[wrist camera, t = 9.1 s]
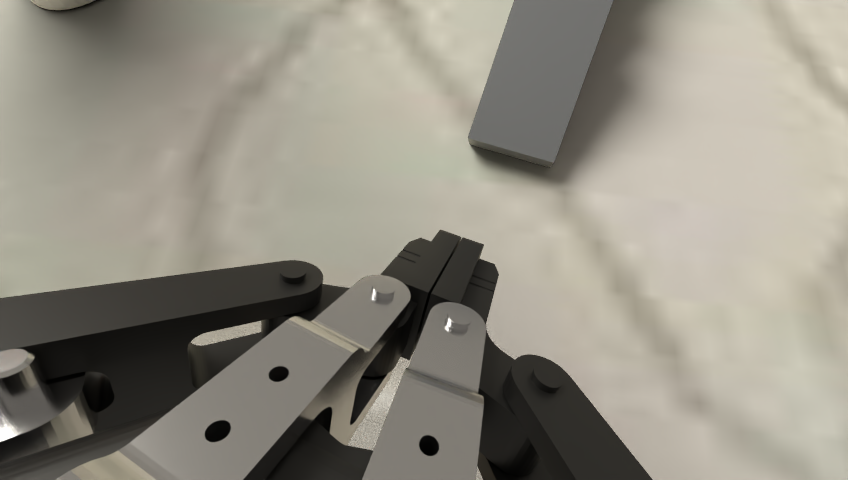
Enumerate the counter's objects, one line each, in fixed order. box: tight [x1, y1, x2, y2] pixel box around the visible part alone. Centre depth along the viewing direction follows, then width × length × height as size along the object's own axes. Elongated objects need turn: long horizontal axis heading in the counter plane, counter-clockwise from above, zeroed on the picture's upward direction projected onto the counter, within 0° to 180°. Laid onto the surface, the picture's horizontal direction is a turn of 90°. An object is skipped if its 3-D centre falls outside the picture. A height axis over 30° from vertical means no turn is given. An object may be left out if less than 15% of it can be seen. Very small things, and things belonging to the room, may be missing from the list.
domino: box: [468, 0, 613, 168], centre depth 20 cm, size 5×2×10 cm
